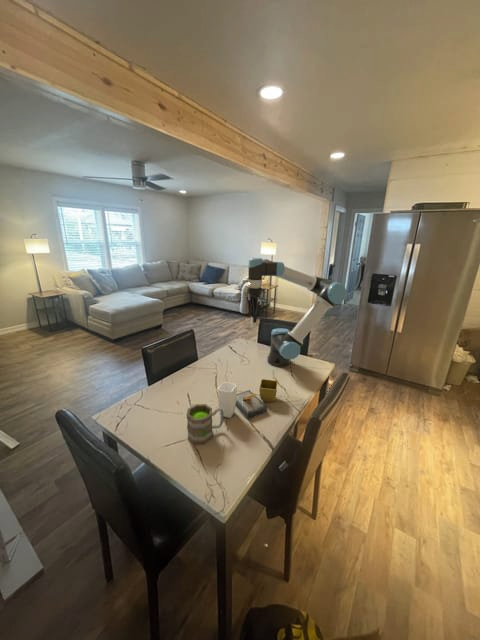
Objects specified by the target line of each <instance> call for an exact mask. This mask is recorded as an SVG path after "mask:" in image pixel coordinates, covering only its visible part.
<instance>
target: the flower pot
mask: <svg viewBox="0 0 480 640" xmlns="http://www.w3.org/2000/svg"><path fill="white" fill-rule="evenodd" d="M259 384H260V385H259V388H258V389H259V397H260V400H261V401H262V402H268V403H273V402H274V400H276V398H277V397H276V396H277V392H278V391H277V390H278V384H279V382H278V380H274V379H273V380H272V379H266V378H261V379H260V383H259Z"/></svg>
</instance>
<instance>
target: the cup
mask: <svg viewBox="0 0 480 640" xmlns="http://www.w3.org/2000/svg"><path fill="white" fill-rule="evenodd" d="M237 389H238V386H237V384H236V383H232V382H227V381H224V382H222V383H221V384H220V385H219V386H218V387H217V401H218V408H222V410H223V418H224V417H225V418H228V419H230V418H232V416H233V415H234V414H235V411H236V394H238V392H237ZM219 415H220V416H221V411H219Z"/></svg>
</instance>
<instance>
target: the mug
mask: <svg viewBox="0 0 480 640" xmlns="http://www.w3.org/2000/svg"><path fill="white" fill-rule="evenodd" d="M186 411H187V412H186V419H187V421H186V422H187V441H189V442H190V443H191V444H192V445H195V446H198V445H199V446H200V445H201V446H202V445H203V446H204V445H205V444H207V443H209V442H210V441H212V440H213V429H220V427H222V426H223V423H224V416H223V410H222V408H219V407H217V408H215V409H214V411H213V408H212V407H210V406H209V405H208V404H206V403H205V404H204V403H198V404H197V403H196V404H194V405H192V406H191V407H188V409H187V410H186ZM220 411H221V415H220V422H219V424H213V416H215V415H217V413H218V412H220Z"/></svg>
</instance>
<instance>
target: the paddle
mask: <svg viewBox="0 0 480 640" xmlns="http://www.w3.org/2000/svg"><path fill="white" fill-rule="evenodd" d="M253 397H257V396H256V393H253V394H251V395H247V396H245V397H242V399H243V400H245V399H250V398H253Z"/></svg>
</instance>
